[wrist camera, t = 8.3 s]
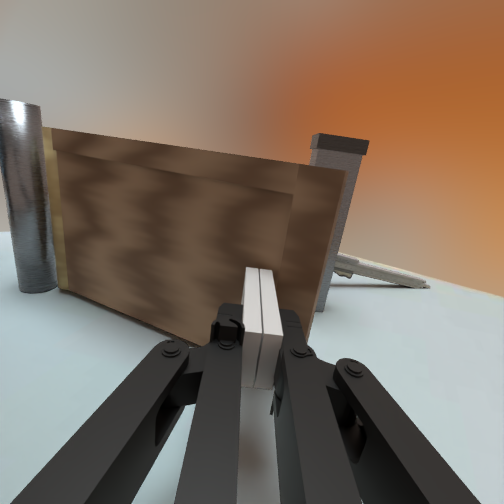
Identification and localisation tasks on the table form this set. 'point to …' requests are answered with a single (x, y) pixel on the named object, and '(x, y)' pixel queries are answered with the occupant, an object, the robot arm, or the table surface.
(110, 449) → the robot arm
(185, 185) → the gate
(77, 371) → the table surface
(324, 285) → the post
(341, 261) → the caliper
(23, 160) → the hinge post
